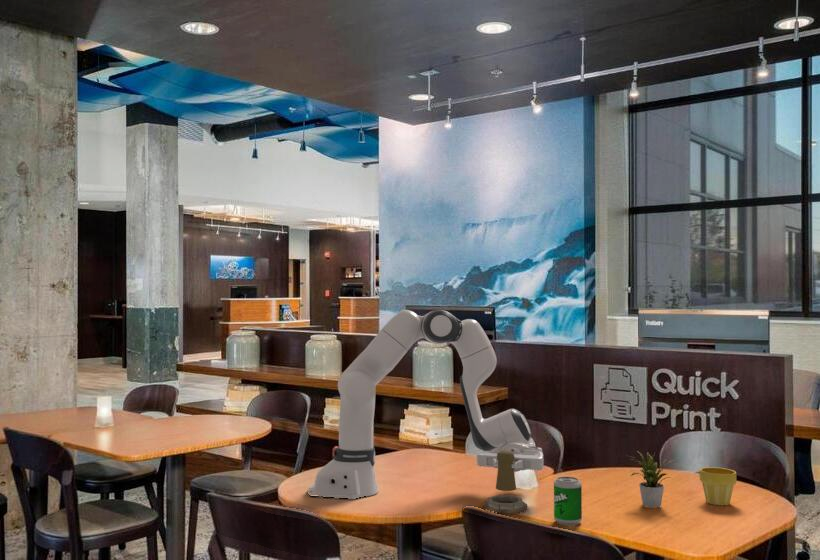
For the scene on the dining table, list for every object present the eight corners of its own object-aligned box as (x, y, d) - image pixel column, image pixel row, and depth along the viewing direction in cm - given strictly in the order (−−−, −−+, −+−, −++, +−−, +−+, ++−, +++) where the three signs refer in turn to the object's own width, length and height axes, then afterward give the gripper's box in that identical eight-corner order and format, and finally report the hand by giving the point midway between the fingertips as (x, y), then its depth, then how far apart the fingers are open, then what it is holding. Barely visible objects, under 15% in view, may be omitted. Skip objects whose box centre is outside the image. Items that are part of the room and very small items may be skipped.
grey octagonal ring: (484, 514, 219) (484, 505, 219) (481, 502, 232) (481, 493, 232) (529, 514, 218) (529, 505, 218) (524, 502, 231) (524, 494, 231)
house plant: (613, 501, 233) (613, 447, 233) (651, 496, 238) (650, 444, 238) (643, 513, 219) (643, 456, 220) (682, 508, 224) (681, 453, 225)
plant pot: (718, 497, 237) (718, 465, 238) (744, 505, 228) (744, 472, 228) (692, 500, 234) (692, 468, 234) (717, 509, 224) (716, 475, 224)
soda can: (577, 518, 214) (577, 475, 215) (584, 526, 207) (584, 482, 207) (551, 518, 214) (551, 475, 214) (557, 526, 207) (557, 482, 207)
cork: (516, 491, 222) (515, 453, 222) (495, 490, 223) (495, 452, 223) (516, 486, 228) (515, 449, 228) (495, 485, 229) (495, 448, 229)
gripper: (482, 444, 241) (470, 452, 228) (546, 448, 234) (538, 457, 221) (482, 464, 241) (470, 474, 228) (547, 468, 234) (539, 479, 221)
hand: (504, 465), depth 225 cm, fingers closed on cork, 4 cm apart
